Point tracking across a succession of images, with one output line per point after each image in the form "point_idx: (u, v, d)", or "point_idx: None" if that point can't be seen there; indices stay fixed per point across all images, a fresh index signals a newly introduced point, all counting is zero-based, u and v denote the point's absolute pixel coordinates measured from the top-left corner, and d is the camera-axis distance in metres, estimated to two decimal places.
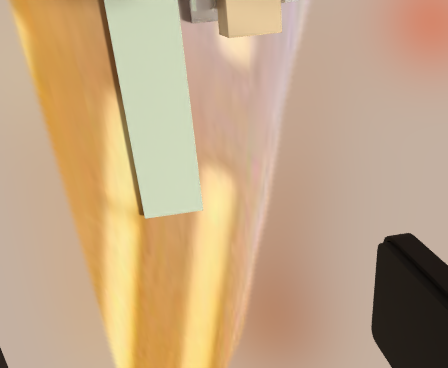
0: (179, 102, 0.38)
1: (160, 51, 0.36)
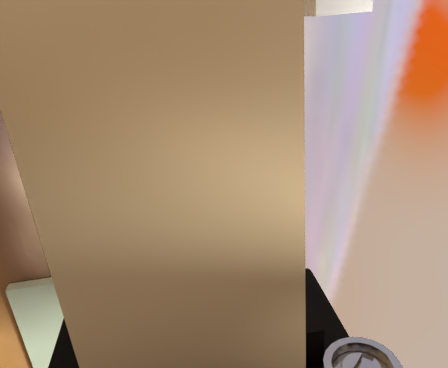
0: None
1: None
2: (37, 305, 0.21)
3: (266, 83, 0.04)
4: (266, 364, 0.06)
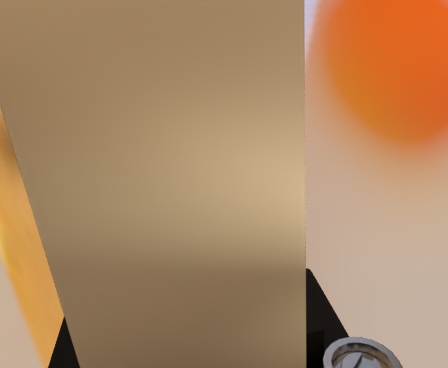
0: None
1: None
2: None
3: (267, 83, 0.04)
4: (267, 364, 0.06)
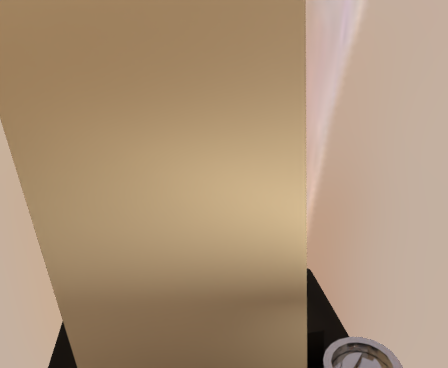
0: None
1: None
2: None
3: (267, 87, 0.04)
4: None
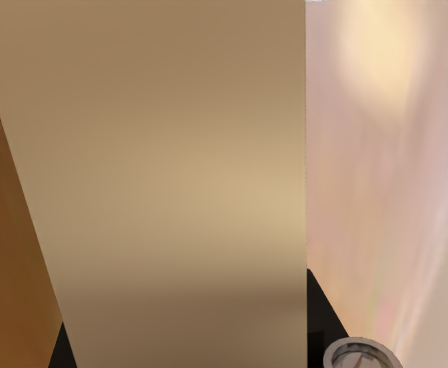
0: None
1: None
2: None
3: (267, 88, 0.04)
4: None
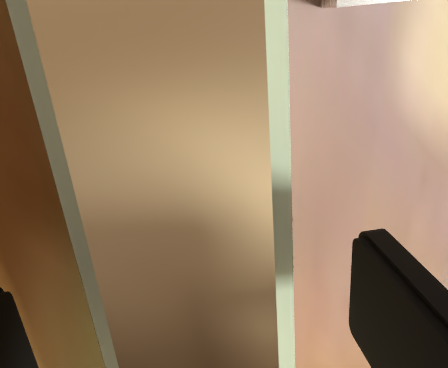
0: None
1: None
2: None
3: (238, 58, 0.06)
4: (243, 285, 0.07)
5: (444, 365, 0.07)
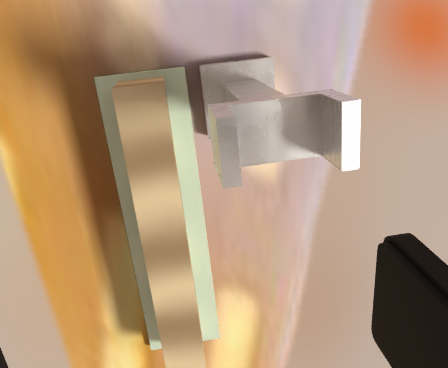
0: (192, 224, 0.32)
1: None
2: None
3: (169, 165, 0.26)
4: (175, 221, 0.27)
5: None
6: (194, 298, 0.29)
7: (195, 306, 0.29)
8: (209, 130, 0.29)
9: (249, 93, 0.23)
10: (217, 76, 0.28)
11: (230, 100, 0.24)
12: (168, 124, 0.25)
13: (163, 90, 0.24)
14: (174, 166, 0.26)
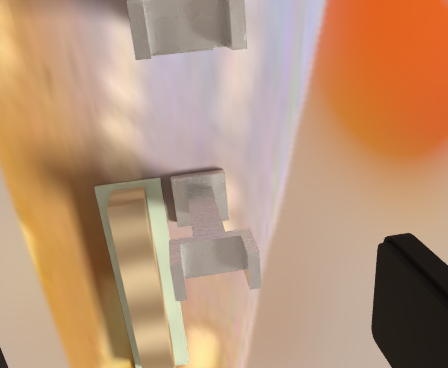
0: (167, 284, 0.42)
1: None
2: None
3: (147, 256, 0.36)
4: (152, 291, 0.38)
5: None
6: (166, 342, 0.40)
7: (167, 347, 0.41)
8: (178, 221, 0.39)
9: (201, 216, 0.33)
10: (183, 186, 0.38)
11: None
12: (146, 230, 0.35)
13: (143, 209, 0.34)
14: (151, 256, 0.36)
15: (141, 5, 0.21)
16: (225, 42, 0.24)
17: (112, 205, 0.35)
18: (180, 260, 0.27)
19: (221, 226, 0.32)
